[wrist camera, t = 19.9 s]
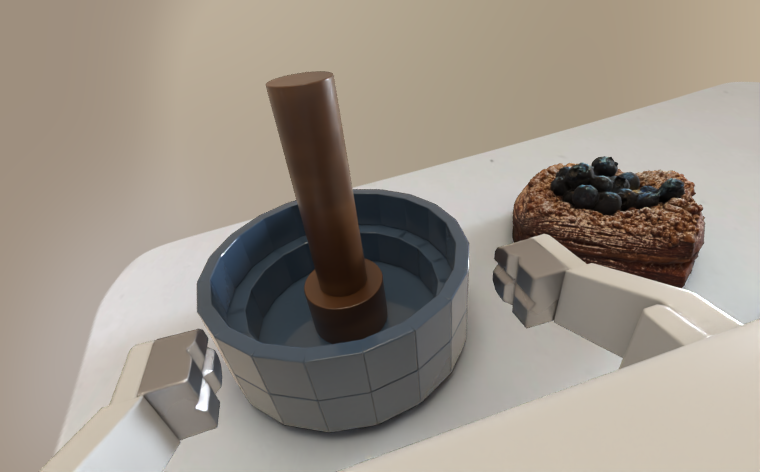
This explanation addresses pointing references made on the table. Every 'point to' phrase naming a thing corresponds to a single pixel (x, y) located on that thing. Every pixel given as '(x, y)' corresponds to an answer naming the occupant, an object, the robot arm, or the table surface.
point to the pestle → (327, 208)
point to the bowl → (296, 327)
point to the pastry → (616, 218)
